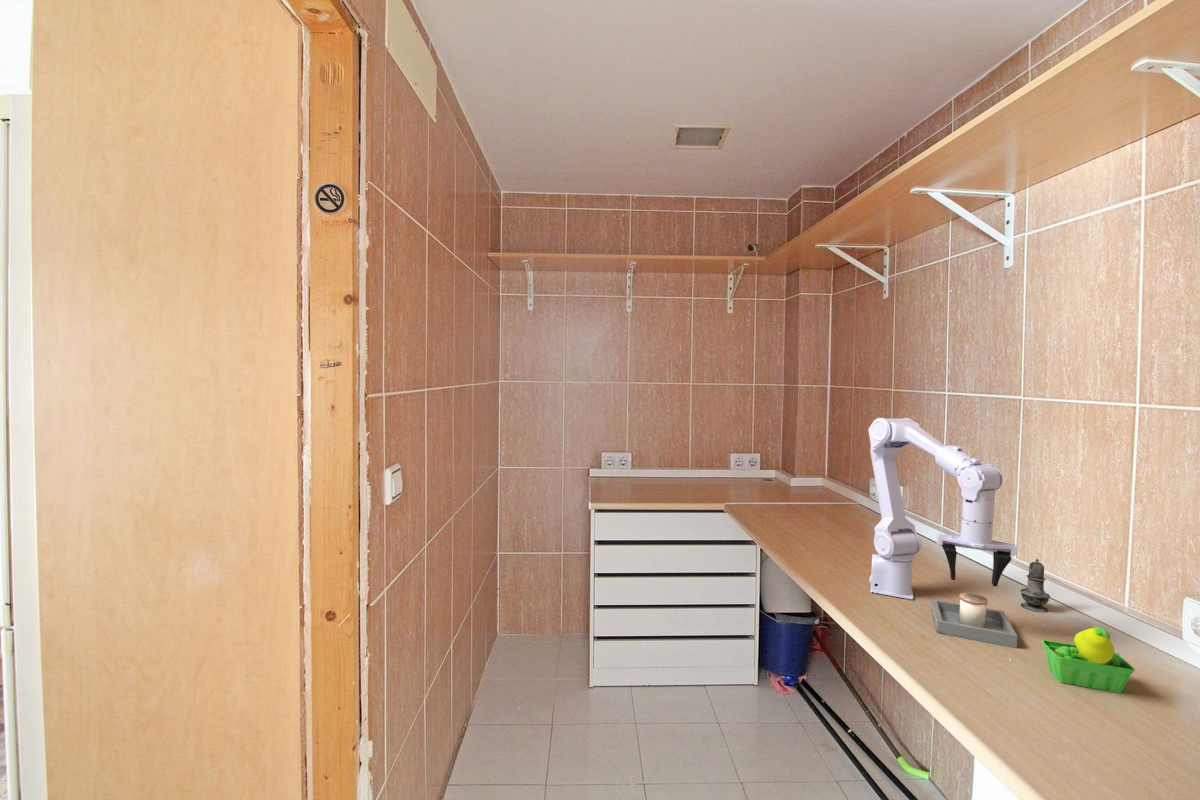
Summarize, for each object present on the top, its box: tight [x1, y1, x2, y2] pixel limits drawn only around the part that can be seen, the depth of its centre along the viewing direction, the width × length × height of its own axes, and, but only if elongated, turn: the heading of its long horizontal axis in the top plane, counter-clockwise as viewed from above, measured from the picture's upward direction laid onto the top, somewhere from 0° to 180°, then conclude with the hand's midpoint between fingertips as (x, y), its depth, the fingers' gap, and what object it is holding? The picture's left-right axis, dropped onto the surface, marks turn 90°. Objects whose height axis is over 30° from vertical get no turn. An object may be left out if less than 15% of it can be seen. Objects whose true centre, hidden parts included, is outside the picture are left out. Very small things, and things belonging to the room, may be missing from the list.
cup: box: [958, 592, 989, 628], centre depth 126 cm, size 5×5×6 cm
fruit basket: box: [1041, 626, 1135, 694], centre depth 103 cm, size 11×9×11 cm
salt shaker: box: [1019, 558, 1051, 613], centre depth 137 cm, size 6×6×12 cm
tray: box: [930, 598, 1018, 649], centre depth 125 cm, size 14×14×2 cm
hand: (973, 581), depth 125 cm, fingers open, 7 cm apart
